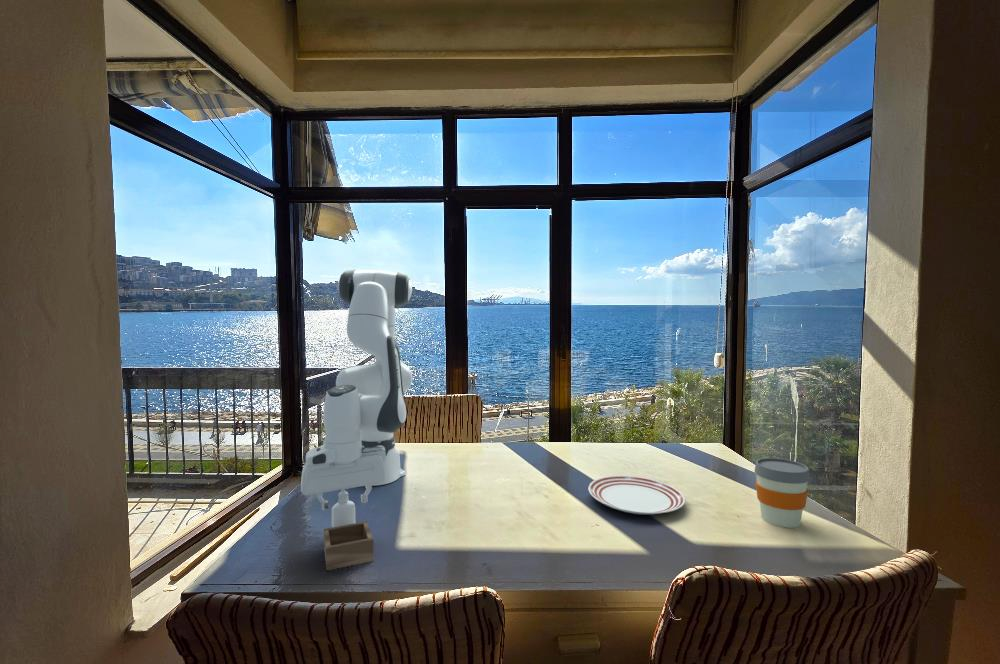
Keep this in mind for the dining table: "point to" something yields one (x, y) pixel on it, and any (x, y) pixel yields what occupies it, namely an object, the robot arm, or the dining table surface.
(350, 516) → the eye dropper bottle
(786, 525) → the reusable coffee cup
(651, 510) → the dinner plate
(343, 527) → the small open wooden box
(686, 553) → the dining table surface
